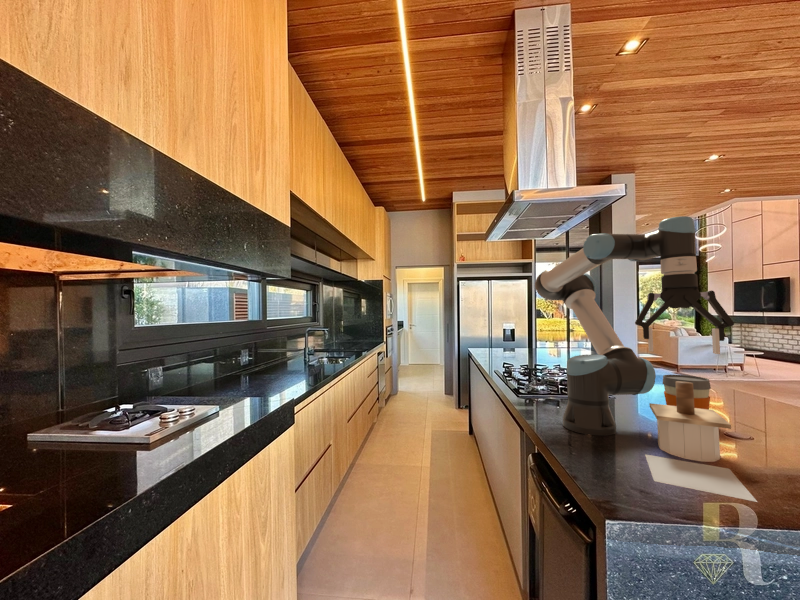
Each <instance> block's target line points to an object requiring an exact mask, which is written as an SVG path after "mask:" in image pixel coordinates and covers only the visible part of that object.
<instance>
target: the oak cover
mask: <svg viewBox="0 0 800 600" xmlns="http://www.w3.org/2000/svg"><path fill="white" fill-rule="evenodd" d="M676 403H677V406H670V405H666V404H660V403H659V404H658V403H650V402H649V408H650V410H651V411H652V413H653V416H654V417H655V418H656V421H657V420H664V421H672V422H680V423H688V424H696V425H704V426H712V427H719V429H720V428H721V429H728V430H729V429H730V430H732V424H731V423H730V422H728V421H727V420H726V419H725V418H724V417H722V416H721V415H720V414H719V413H717V411H715V410H714V409H709V410H708V409H699V408H694V390H693V383H691V382H683V381H676Z"/></svg>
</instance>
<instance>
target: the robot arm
mask: <svg viewBox="0 0 800 600" xmlns="http://www.w3.org/2000/svg"><path fill="white" fill-rule="evenodd" d="M696 233H697V231H696V226H695V221H694V219H693V217H692V216H691V217H690V216H681V215H680V216H675V217H668V218H665V219H663V220H661V221H660V222H659V223H658V230H656V231H653V232H650V233H644V234H643V233H641V234H638V233H631V234H629V233H606V232H603V233H593V234H590V235H589V236H587V237H586V238H585V239H586V240H585V241H584V242H583V246H582V247H583V248H581V249H580V250H578V251H577V252H575V253H574V254H572V255H571V256H569V257H568V258H566V259H564V260H563V261H562V262H560V263H558V264H557V265H555V266H554V267H553V268H547V269H546V270H543V271H542V272H541V273H539V274H538V276H537V277H536V279H535V282H534V287H535V291H536V293H537V294H538V296H540V297H541V298H543V299H545V300H549V301H562V302H563V303H564V305H565V307H566V308H567V309H569V310H572V311H573V313H574V315H575V316H576V318H577V321H578V322H579V323H580V325H581V327H582V329H583V331H584V333H585V335H586V336H587V338H588V340H589V341H590V343H591V345H592V346H593V349H594V350H595V352H596V354H579V355H575V356H571V357H570V358H568V359H567V361H566V371H565V372H566V379H567V380H566V382H567V383H566V385H567V404H566V407H565V409H564V413H563V416H562V426H563V427H565V429H567V430H569V431H572V432H575V433H578V434H582V435H591V436H612V435H615V434H617V423H616V422H615V418H614V416H613V413H612V411H611V408H610V404H609V403H610V401H609V399H610V398H609V396H623V395H624V396H625V395H626V396H627V395H631V396H637V395H644V394H647V393H649V392H650V391H651V390H652V389H653V388H654V386H655V384H656V379H657V377H656V371H655V368H654V365H653V364H652V362H651V361H649V360H648V359H646V358H644V357H638V356H637V355H636V354H635V351H634V350H633V349H632V348H631V347H626V346H624V344H623V343H622V341H621V339H620V338H619V336H618V334H617V333H616V331H615V330H614V328H613V327H612V325H611V323H610V322H609V320H608V319H607V317H606V315H605V314H604V313H603V311H602V309H601V308H600V307H599V305H598V304H597V301H596V300H595V299H596V294H597V289H598V288H597V282H596V280H595V279H594V277H593V276H592V275H590V274H589V273H588V272H590V271H592V270H593V269H595V268H597V267H599V266H601V265H603V264H604V263H607V262H608V261H611V260H628V261H630V262H643V261H646V260H651V259H655V258H659V259H660V274H661V275H662V276H661V277H660V279H661V292H660V293H656V292H655V293H654V292H649V293H648V294H647V301H645V304H644V305H643V308H642V310H641V311H640V313H639V314H638V316H637V317H636V320H635V322H634V324H635V325H636V326H639V327H642V334H643V335H642V336H643V339H644V340H647V341H648V342H647V343H648V352H654V335H653V333H654V331H653V327H650V326H651V325H652V324H653V323H654V322H655V321H656V320H657V319H659V317H660V316H661V315H662V314H663V313H664V312H666V310H668V309H669V308H671V309H690V308H692V309H693V310H694V311H696V312H697V313H698V314H699V315H700V316H702V317H703V318H704V319H706V320H707V321H708V322H709V323H711V325H713V326H714V327H715V328H711V341H712V353H713V354H714V355H721V346H720V345H721V344H720V342H724V341H725V340H726V338H725V330H726V328H728V327H732V326H734V325H735V323H734V322H735V321H733V320H732V318H731V317H730V315H729V314H728V312H726V310H725V309H724V308H723V306H722V305H721V304H720V302H719V301H718V300H717V296H716V293H715V291H714V290H707V291H700V290H699V283H698V281H699V280H698V275H697V274H696V272H697V271H698V267H697V263H698V262H697V252H696V250H697V249H696ZM701 297H702V298H703V299H704V300H706V301H707V302H708V304H709V305H710V306H711V308H712V309H713V311H715V313H716V314H717V316H718V317H719V319H720V320H721V321H720V320H719V319H718V318H716V317H715V316H714V315H713V314H712V313H710V312H709V311H708V310H707V309H705V308H704V306H703V305H701V304H700V303H699V302H698V301H699V299H700V298H701ZM659 298H660V300H662V301H663V304H661V305H660V307H659V308H658V309H657V310H656V311H655V312H654V313H653V314H652V315H651V316H649V317H648V318H647V320H646V321H644V319H645V317H646V316H647V314H648V312H649V311H650V309H651V307H652V306H653V304H654V302H656V301H657V300H658V299H659ZM643 321H644V322H643Z"/></svg>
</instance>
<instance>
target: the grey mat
mask: <svg viewBox="0 0 800 600" xmlns="http://www.w3.org/2000/svg"><path fill="white" fill-rule="evenodd" d="M644 456H645V459H646V461H647V466H648V468H649V470H650V474H651V476H652V479H653V481H654V482H655V483H661V484H667V485H671V486H675V487H681V488H686V489H691V490H696V491H699V492H700V491H701V492H706V493H709V494H715V495H720V496H725V497H730V498H735V499H740V500H744V501H749V502H754V503H755V502H756V503H758V501H757V499H756V498H755V496H753V495H752V493H751V492H750V491H749V490H748V489H747V488H746V486H745V485H744V484H743V483H742V481H740V480H739V478H738V477H737V475H735V474H734V473H733V471H732V470H731V469H730V468H727V467H722V466H717V465H716V466H715V465H709V464H703V463H698V462H691V461H687V460H680V459H674V458H670V457H663V456H656V455H650V454H644Z"/></svg>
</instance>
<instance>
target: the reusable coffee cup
mask: <svg viewBox="0 0 800 600" xmlns="http://www.w3.org/2000/svg"><path fill="white" fill-rule="evenodd" d="M676 381H683V382H691V383H693V390H694V408H699V409H708V410H710V405H711V403H710V402H711V396H710V390H711V388H712V386H711V383H710V382H711V381H710V379H708V378H706V377H701V376H695V375H688V374H687V375H685V374H663V376H662V385H663V388H664V391H663V395H664V399H665V400H664V401H665V405H670V406H677V403H676Z"/></svg>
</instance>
